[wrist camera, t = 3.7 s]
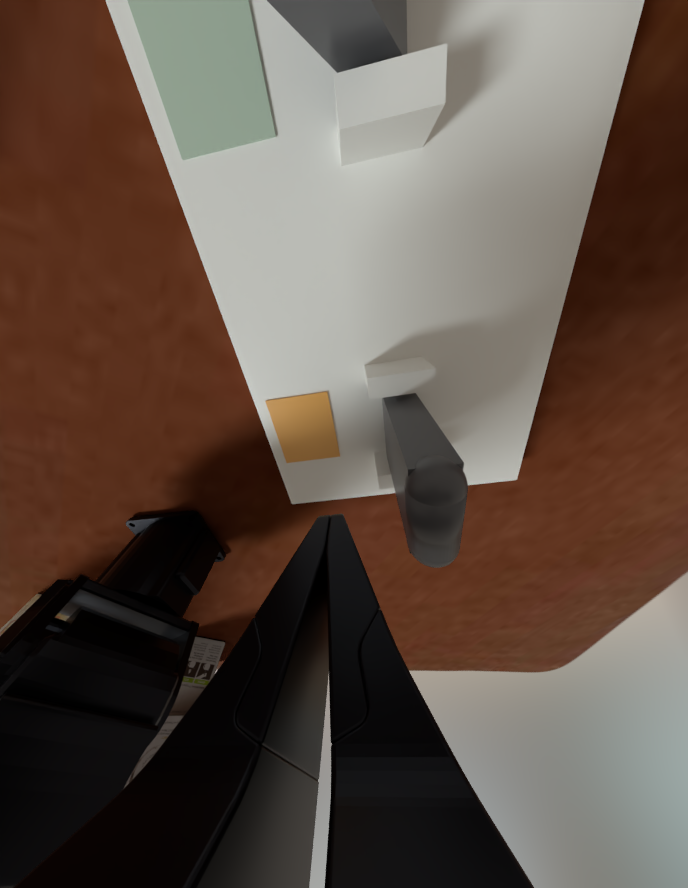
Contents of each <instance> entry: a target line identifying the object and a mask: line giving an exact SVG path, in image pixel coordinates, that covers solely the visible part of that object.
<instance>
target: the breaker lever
mask: <svg viewBox="0 0 688 888" xmlns="http://www.w3.org/2000/svg"><path fill="white" fill-rule="evenodd" d="M382 406H383V418H384V430H385V442H386V454H387V460H388V464H389V468H390V472H391V476H392V480H393V485H394V489H395V493H396V497H397V501H398V505H399V509H400V513H401V518H402V522H403V526H404V530H405V534H406V538H407V544H408V547H409V551H410V553H412V555H413V556H414V557H415V558H416V559H417V560H418V561H419V562H421V563H422V564H424V565H426V566H429V567H437V568H439V567H444V566H446V565H449V564H450V563H451V562H453V560H454V559H455V558H456V557H457V555H458V553H459V549H460V543H461V535H462V528H463V521H464V513H465V506H466V499H467V491H468V483H467V479H466V476H465V473H464V472H463V468H464V462H463V461H462V459H461V458H460V456H459V455H458V453H457V452H456V451H455V449H454V448H453V446H452V445H451V443H450V442H449V440H448V439H447V438H446V436H445V435H444V433H443V432H442V430H441V429H440V427H439V426H438V425H437V423H436V422H435V420H434V419H433V417H432V416H431V414H430V413H429V412H428V410H427V409H426V407H425V406H424V404H423V403H422V401H421V400H420V399H419V397H418V396H417V394H416V393H412V394H405V395H398V396H391V397H384V398H382Z"/></svg>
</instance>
